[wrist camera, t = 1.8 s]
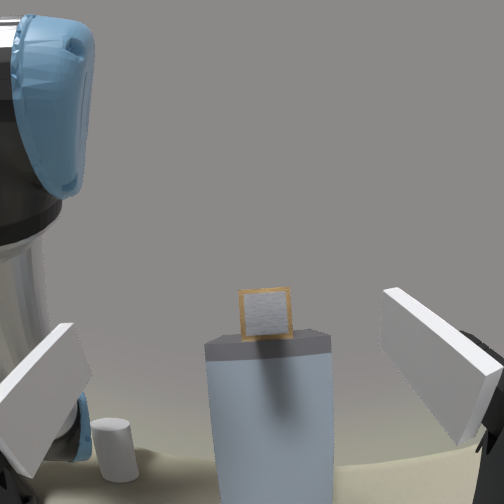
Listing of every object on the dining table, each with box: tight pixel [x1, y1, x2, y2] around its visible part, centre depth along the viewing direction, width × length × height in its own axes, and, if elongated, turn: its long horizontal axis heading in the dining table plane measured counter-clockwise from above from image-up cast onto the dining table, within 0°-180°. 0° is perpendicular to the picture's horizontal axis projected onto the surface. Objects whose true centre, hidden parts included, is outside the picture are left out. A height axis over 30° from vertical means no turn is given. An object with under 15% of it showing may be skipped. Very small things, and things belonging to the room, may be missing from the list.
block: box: [239, 287, 293, 341], centre depth 33 cm, size 24×6×6 cm, turn 177°
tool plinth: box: [205, 329, 334, 504], centre depth 37 cm, size 16×14×30 cm
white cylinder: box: [90, 418, 139, 483], centre depth 46 cm, size 8×8×12 cm
